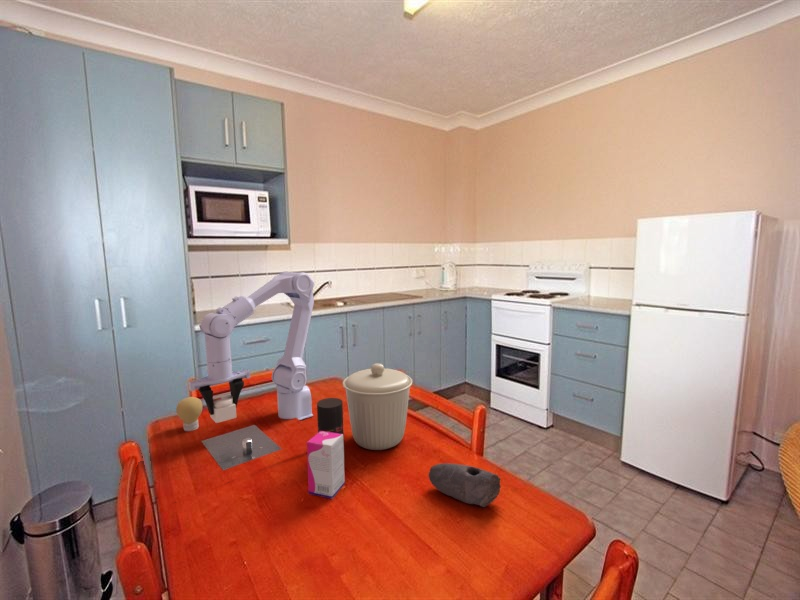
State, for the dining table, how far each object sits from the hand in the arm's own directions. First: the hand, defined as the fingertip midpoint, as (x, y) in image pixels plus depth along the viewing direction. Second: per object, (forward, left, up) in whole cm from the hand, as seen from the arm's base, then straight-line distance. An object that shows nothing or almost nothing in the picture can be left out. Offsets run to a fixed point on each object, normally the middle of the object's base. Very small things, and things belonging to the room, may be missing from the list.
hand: (223, 410), depth 101 cm
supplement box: (-10, +35, -9) cm, 38 cm away
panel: (-2, +6, -9) cm, 11 cm away
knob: (0, 0, -2) cm, 2 cm away
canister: (-31, +26, -9) cm, 41 cm away
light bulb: (+5, -13, -9) cm, 17 cm away
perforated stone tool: (-29, +56, -9) cm, 64 cm away
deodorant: (-16, +27, -9) cm, 33 cm away
